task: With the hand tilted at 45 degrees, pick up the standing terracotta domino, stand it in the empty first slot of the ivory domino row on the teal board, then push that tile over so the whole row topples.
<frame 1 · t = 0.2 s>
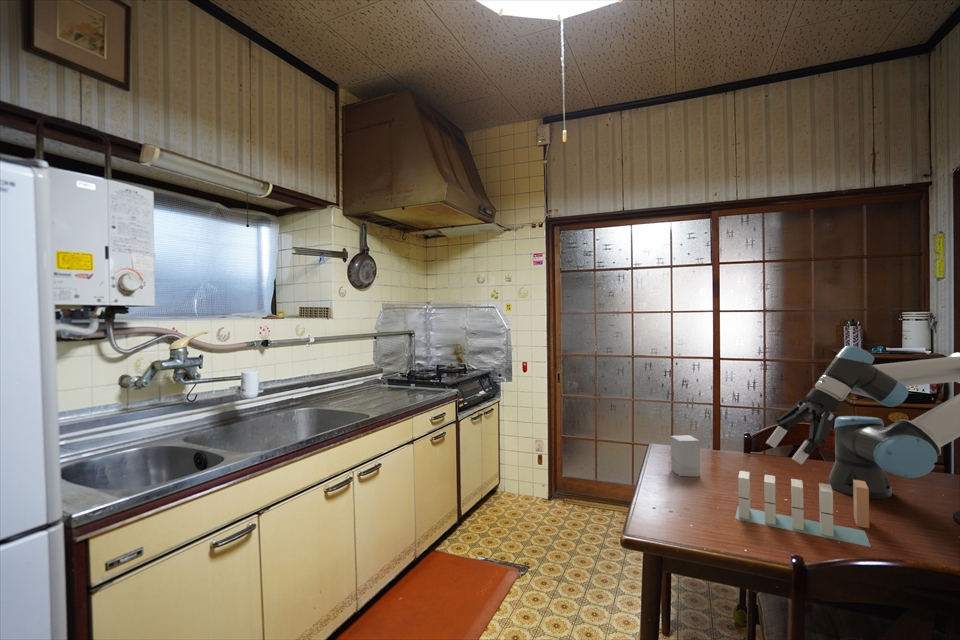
hand: (782, 453, 130), 15 cm above the table, tool tilted 35°, fingers open, 13 cm apart
domino 4: (770, 519, 120), point 1 cm above the table, touching domino board
domino 3: (797, 524, 116), point 1 cm above the table, touching domino board
terracotta domino: (861, 525, 117), on the table
supplement box: (685, 473, 157), on the table
domino board: (797, 527, 116), on the table
domino 2: (826, 530, 113), point 1 cm above the table, touching domino board
domino 5: (744, 513, 123), point 1 cm above the table, touching domino board
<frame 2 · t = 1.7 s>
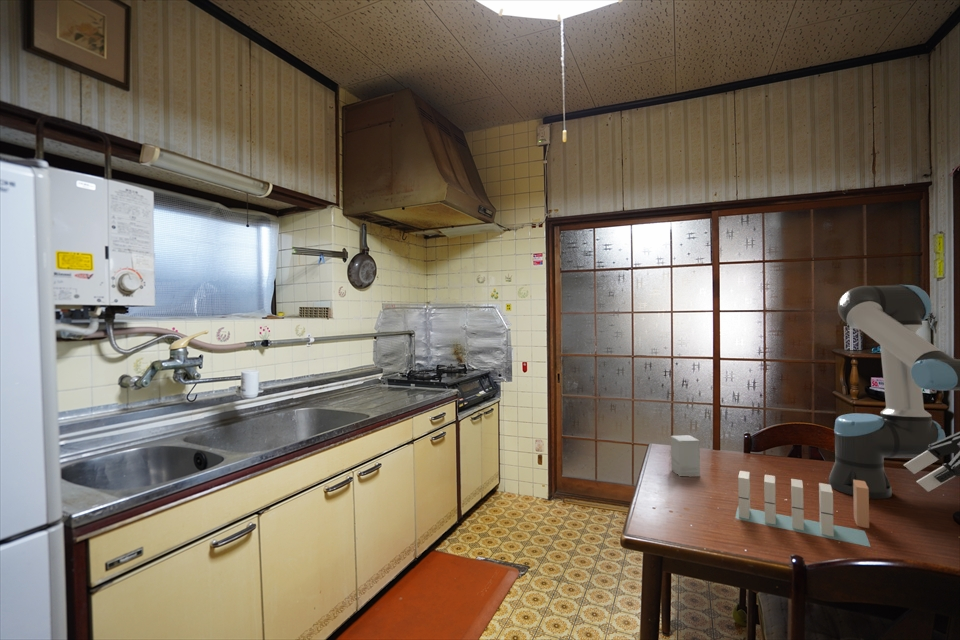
hand: (914, 477, 111), 15 cm above the table, tool tilted 45°, fingers open, 13 cm apart
nothing on the table moved.
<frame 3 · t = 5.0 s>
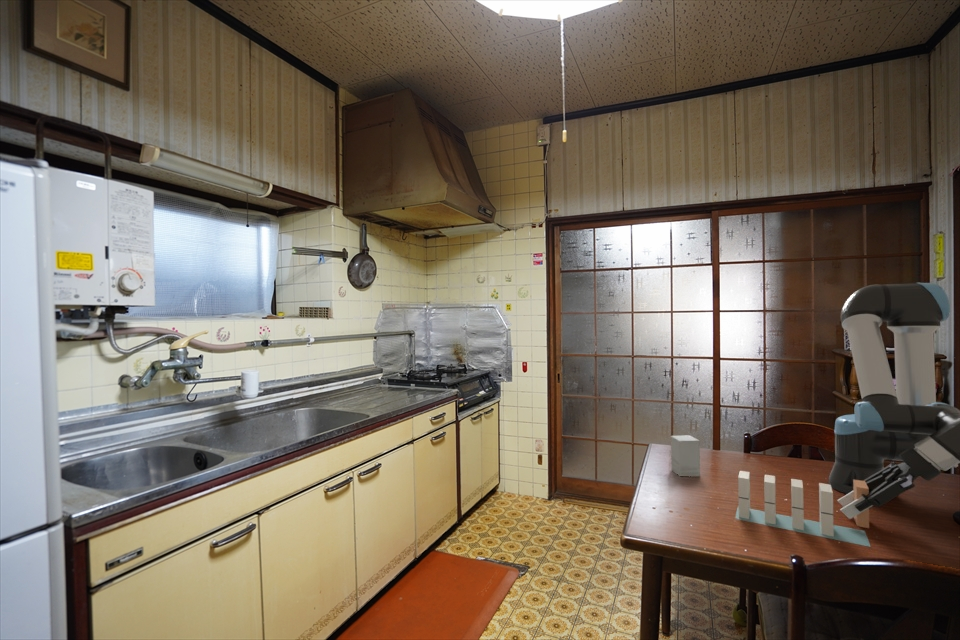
hand: (843, 509, 119), 3 cm above the table, tool tilted 45°, fingers closed on terracotta domino, 6 cm apart
terracotta domino: (861, 525, 117), on the table, touching gripper
everything else where it was.
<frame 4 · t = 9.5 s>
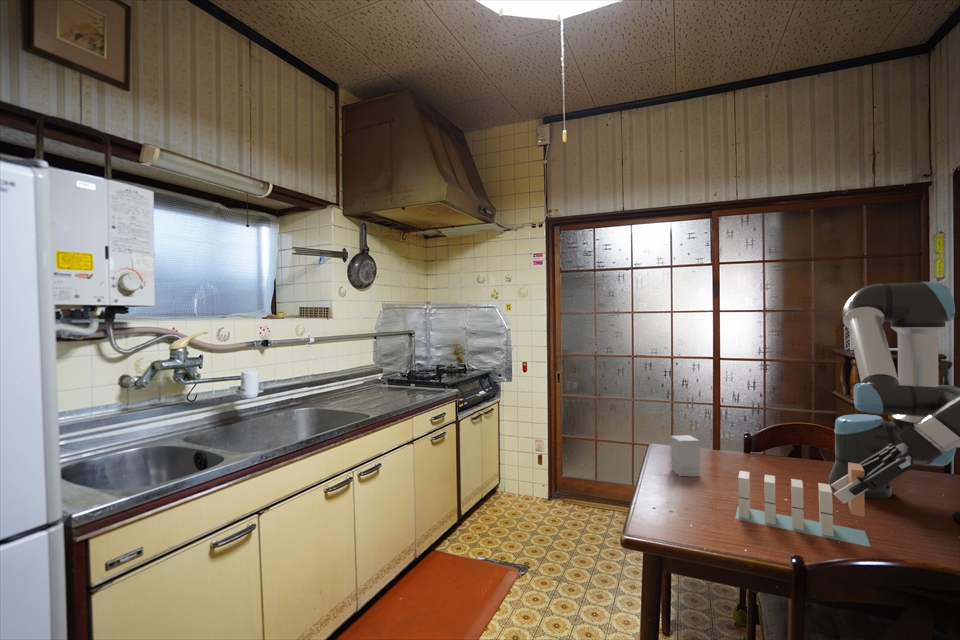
hand: (837, 493, 111), 11 cm above the table, tool tilted 45°, fingers closed on terracotta domino, 6 cm apart
terracotta domino: (856, 510, 109), point 8 cm above the table, touching gripper
domino 2: (826, 530, 113), point 1 cm above the table, touching domino board, gripper
everything else where it was.
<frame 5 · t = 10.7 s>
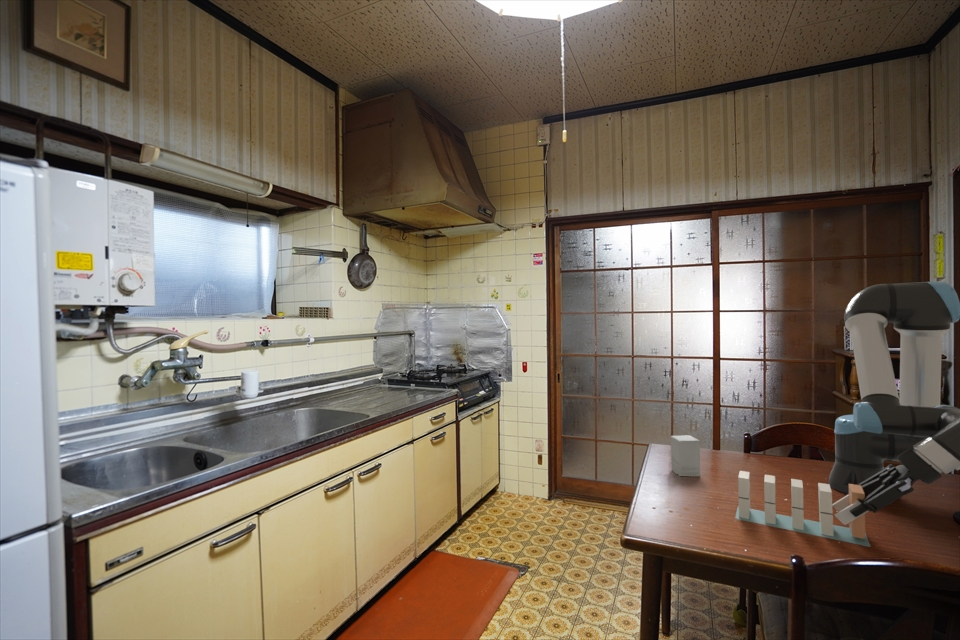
hand: (838, 514, 111), 5 cm above the table, tool tilted 45°, fingers closed on terracotta domino, 6 cm apart
terracotta domino: (856, 532, 110), point 2 cm above the table, touching gripper
domino 2: (826, 530, 113), point 1 cm above the table, touching domino board
everything else where it was.
when the fingers open (5 cm above the table, at t = 11.2 s): terracotta domino stays where it is, resting on domino board.
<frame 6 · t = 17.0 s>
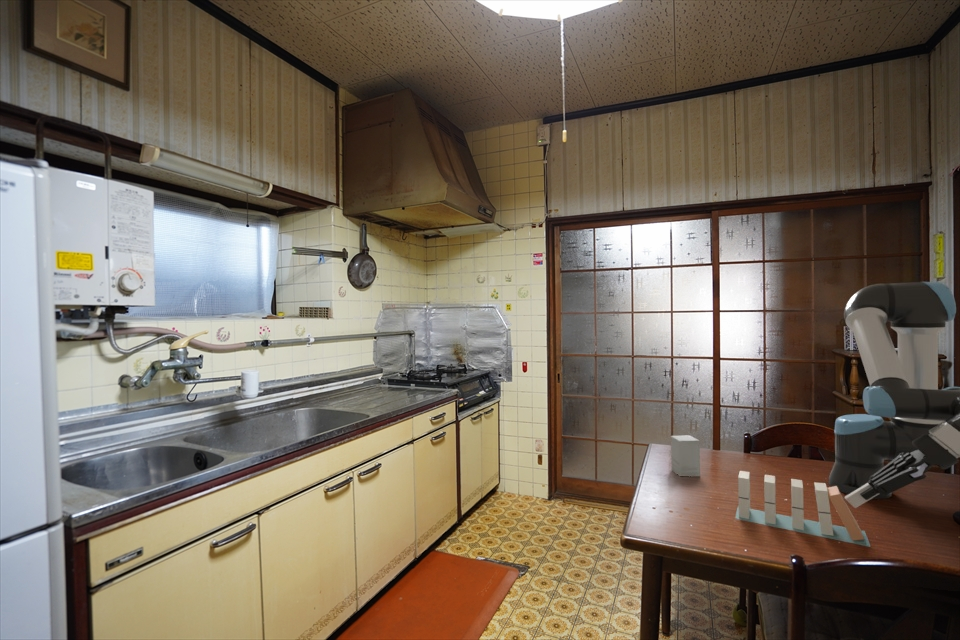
hand: (849, 502, 110), 9 cm above the table, tool tilted 45°, fingers closed
terracotta domino: (856, 534, 110), point 1 cm above the table, tilted 24°, touching domino board
everything else where it was.
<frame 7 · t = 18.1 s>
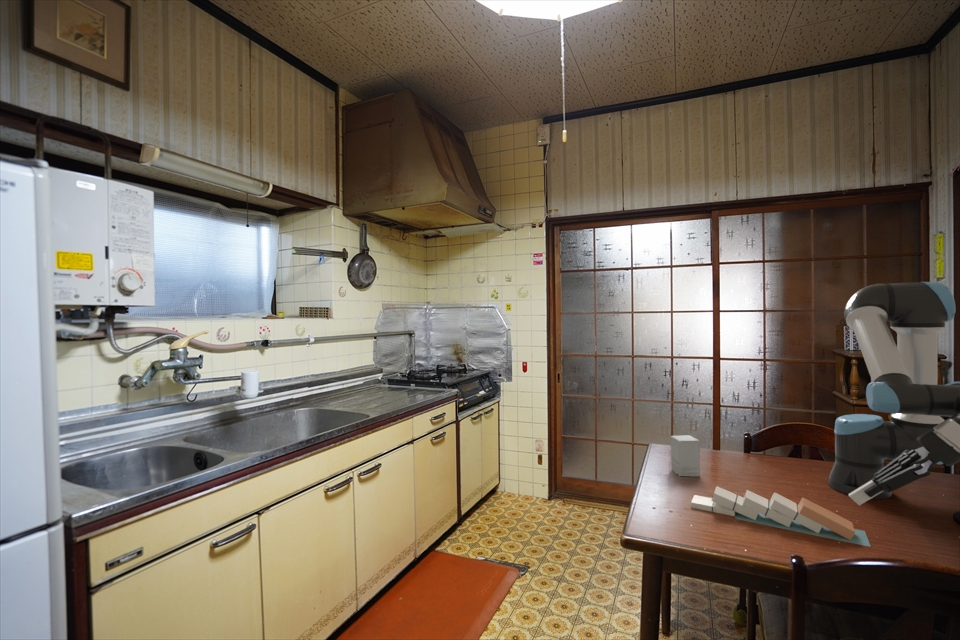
hand: (853, 499, 110), 10 cm above the table, tool tilted 45°, fingers closed
domino 4: (757, 512, 121), point 2 cm above the table, tilted 74°, touching domino 5, domino board
domino 3: (790, 518, 117), point 2 cm above the table, tilted 71°, touching domino 2, domino board
terracotta domino: (851, 531, 110), point 2 cm above the table, tilted 67°, touching domino 2, domino board
domino 2: (819, 524, 114), point 2 cm above the table, tilted 67°, touching domino 3, domino board, terracotta domino
domino 5: (735, 511, 124), point 1 cm above the table, tilted 90°, touching domino 4
everything else where it was.
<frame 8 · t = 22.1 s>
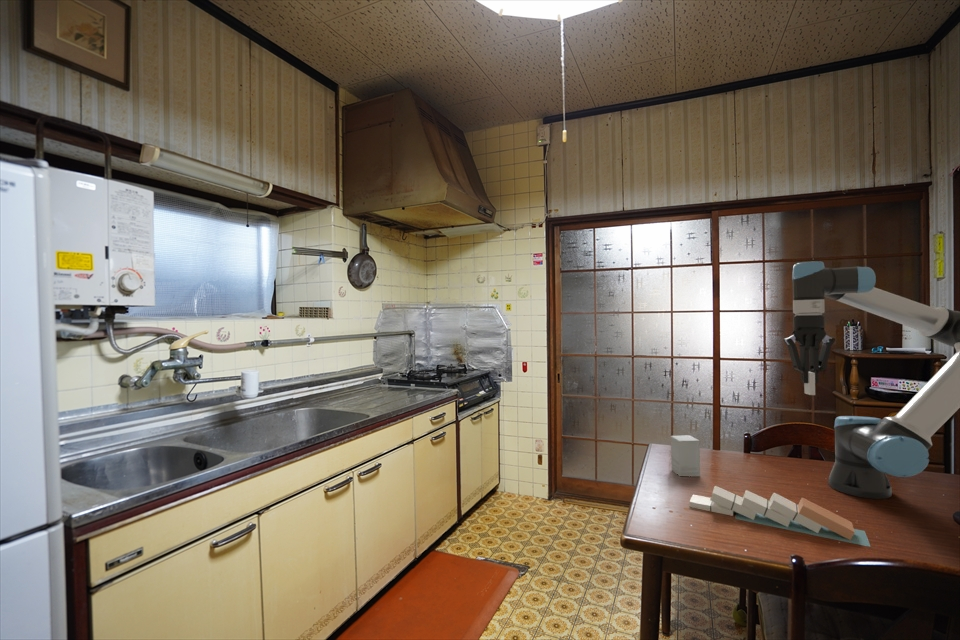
hand: (809, 394, 130), 32 cm above the table, tool pointing down, fingers closed
at the end: domino 5 tilted 90°; terracotta domino tilted 68°; terracotta domino inside the target area (0.8 cm from its centre), point 1.9 cm above the table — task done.
